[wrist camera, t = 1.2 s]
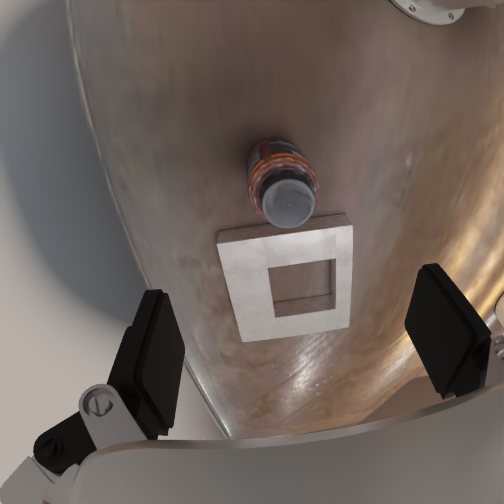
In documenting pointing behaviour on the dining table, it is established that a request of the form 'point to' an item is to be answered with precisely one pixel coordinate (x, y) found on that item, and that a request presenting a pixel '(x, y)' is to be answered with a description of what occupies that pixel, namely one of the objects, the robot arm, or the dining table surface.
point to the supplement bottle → (281, 183)
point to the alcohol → (500, 310)
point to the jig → (280, 254)
